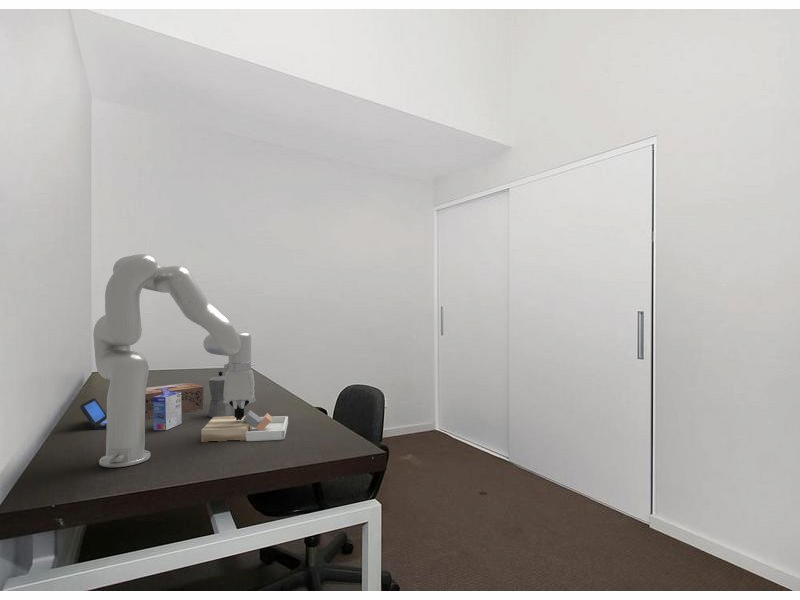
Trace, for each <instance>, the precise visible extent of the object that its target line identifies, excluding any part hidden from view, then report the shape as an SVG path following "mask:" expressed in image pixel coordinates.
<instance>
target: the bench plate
mask: <svg viewBox="0 0 800 600" xmlns="http://www.w3.org/2000/svg"><path fill="white" fill-rule="evenodd" d="M245 416H246V415H244V417H242V420H236V417H235V415H230V416H226V417H213V418H211V419H210V420H209V421H208V422H207V424H205V425H204V427H203V428H201V430H200V431H201V432H200V433H201V434H200V443H209V442H208V441H218V442H228V441H227V440H240V441H246V432H249V431H251V429H252V426H251V425H249V424H248V423H247V422H245V421H244V420H243V419H244V418H245Z"/></svg>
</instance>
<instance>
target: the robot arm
mask: <svg viewBox="0 0 800 600" xmlns="http://www.w3.org/2000/svg"><path fill="white" fill-rule="evenodd" d="M113 264H114V265H113V268H112V271H113V273H112V275H111V276H110V277H109V279H108V282H107V284H106V287H105V290H104V291H105V294H104V311H105V312H104V314H105V315H102V316H101V317H100V318H98V320H97V321H96V323H95V325H94V328H93V348H94V349H93V350H94V359H95V360H94V361H95V367H96V369H97V372H98V374H99V375H100V376H101V377H102V378H103V379H105V380H108V381H110V382H109V386H108V391H107V396H106V397H107V398H106V415H107V429H106V432H105V433H106V441H105V444H106V445H105V448H106V449H105V455H103V456H101V458H100V459H99V460H98V461H99V464H98V465H99V466H101V467H104V468H123V467H129V466H133V465H137V464H140V463H141V464H142V463H143V462H146V461H148V460H149V459H150V458H151V452H150V451H149V450H146V449H145V447H146V446H145V442H146V441H145V440H146V439H145V438H146V437H145V433H146V418H145V394H146V388H147V383H148V378H149V371H150V367H149V362H148V360H147V358H146V357H145V356H144V355H142V354H141V353H139V352H136V351H133V350H131V346H133V345H135V344H136V343H138V342H139V341H140V339H141V338H142V337H141V336H142V319H141V308H140V304H141V303H140V301H141V300H140V297H141V293H142V290H143V289H145V290H149V291H153V292H159V293H167V294H168V293H169V295H170V297H171V298H173V300H174V302H175V304H176V305H177V307H179V310H180V311H181V313H182V314H183V315H184V317H185V318H186V319H188V320H189V321H190V322H193V323H194V324H196V325H198V326H199V327H201V328H203V329H205V330H206V332H208V333H209V334H208V335H207V336H206V337H205V338H204V340H203V348H204V350H205V351H206V352H207V353H209V354H211V355H216V356H217V355H218V356H224V357H225V356H227V357H228V363H226V364H224V365H223V369H227V371H226V372H225V375H224V376H225V381H224V393H223V397H224V401H223V403H226V404H230V407H232V408H233V409H234V416H235V417H236V420H242V417H244V416H245V408H246V406H247V405H249V404H251V403H255V402H256V394H255V393H256V387H255V386H256V384H255V376H254V370H252V335H251V333H250V332H246V331H245V332H244V331H243V332H242V331H241V332H237V331H236V329H235V328H234V326H233V325H232V323H231V322H230V320H229V319H228V318H226V316H224V315H223V314H222V313H221V312H220V311H219V310H218V309H217V308H216V307H215V306H213V305H212V303H210V301H209V300H208V298H207V297H206V295H205V294H204V292H203V290H202V289H201V288H200V286H199V284H198V282H197V281H196V280H195V278H194V277H193V275H192V273H191V272H190V271H189V270H188V269H187V268H186V267H184V266H181V265H172V266H163V265H159V264H158V261H157V259H155V258H154V257H153V256H151V255H149V254H145V253H144V254H142V253H141V254H133V255H128V256H127V255H126V256H123V257H121V258H119V259H118V260H116V261H115V263H113ZM238 401H241V402H240V405H239V402H238Z"/></svg>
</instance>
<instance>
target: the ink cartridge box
mask: <svg viewBox="0 0 800 600" xmlns="http://www.w3.org/2000/svg"><path fill="white" fill-rule="evenodd" d="M165 389H166V390H167V391H165V392H164V391H163V390H165ZM161 391H162V393H163V394H161V395H158V396H155V397H153V417H152V419H153V420H152V422H153V425H152V427H153V428H152V429H153V431H164V430H165V431H168V430H170V429H172V428H174V427H177V426H179V425H181V424H182V412H181V392H169V390H168V388H167V387H165V388H161Z"/></svg>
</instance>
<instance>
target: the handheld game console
mask: <svg viewBox="0 0 800 600" xmlns="http://www.w3.org/2000/svg"><path fill="white" fill-rule="evenodd" d="M79 408H80V410H81V411H82V414H83V415H84V416H85V417H86V419H87V420H88V422H89V423H90V424H91V425H92V426H91V430H92V429H93V430H94V429H95V430H107V412H105V410H103V407H102V406H101V404H100V403H99V401H98V400H97V399H96V398H92V399H90V400H88V401H85V402H84V403H81V404H80V405H79ZM93 430H92V431H93Z"/></svg>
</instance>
